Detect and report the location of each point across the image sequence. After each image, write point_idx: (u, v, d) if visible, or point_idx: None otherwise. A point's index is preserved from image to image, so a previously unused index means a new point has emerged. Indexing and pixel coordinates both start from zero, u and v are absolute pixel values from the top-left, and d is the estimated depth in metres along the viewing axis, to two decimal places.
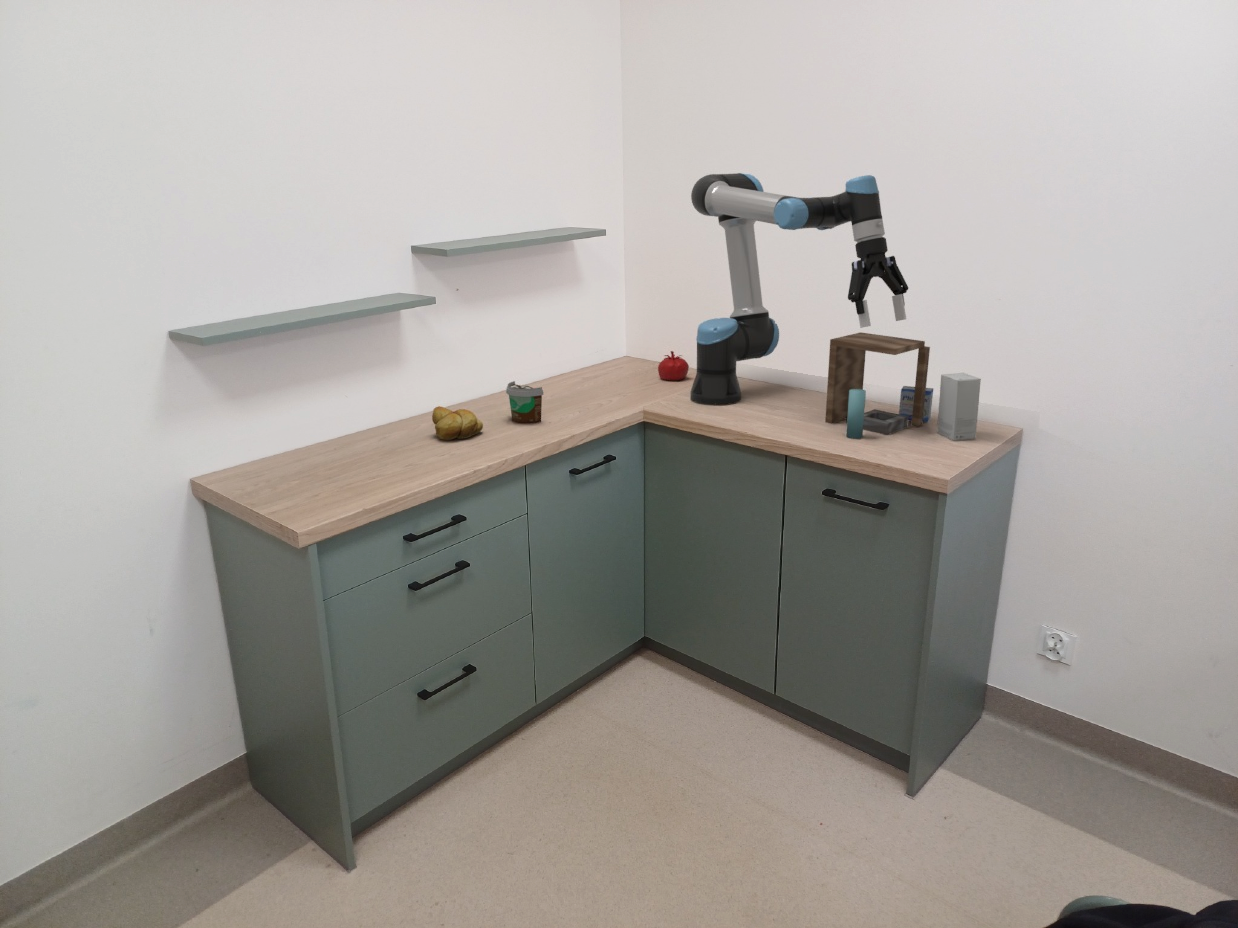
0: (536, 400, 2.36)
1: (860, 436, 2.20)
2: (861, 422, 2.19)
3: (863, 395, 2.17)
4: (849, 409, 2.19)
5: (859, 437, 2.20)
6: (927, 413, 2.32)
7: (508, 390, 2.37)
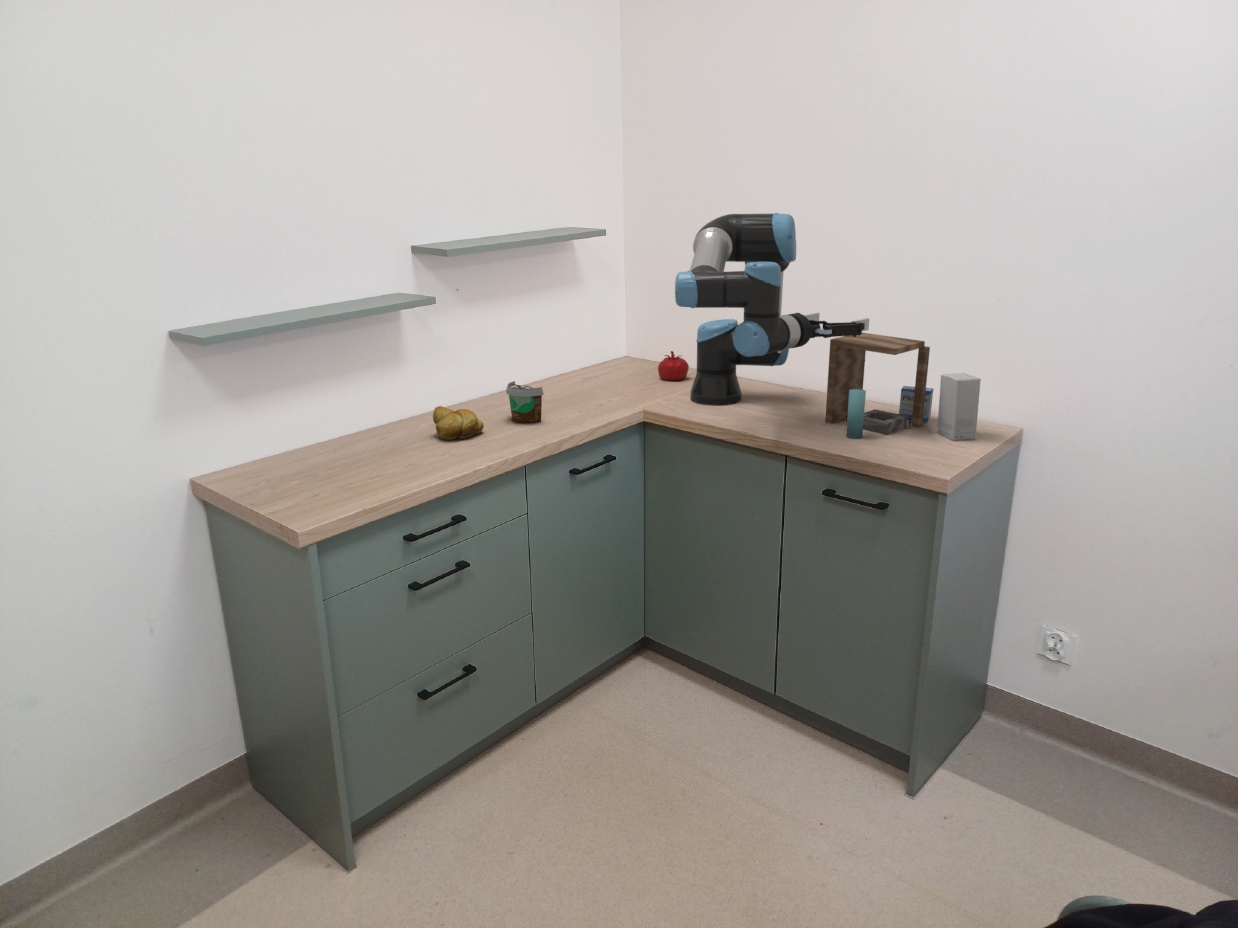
0: (536, 400, 2.36)
1: (860, 436, 2.20)
2: (861, 422, 2.19)
3: (863, 395, 2.17)
4: (849, 409, 2.19)
5: (859, 437, 2.20)
6: (927, 413, 2.32)
7: (508, 390, 2.37)
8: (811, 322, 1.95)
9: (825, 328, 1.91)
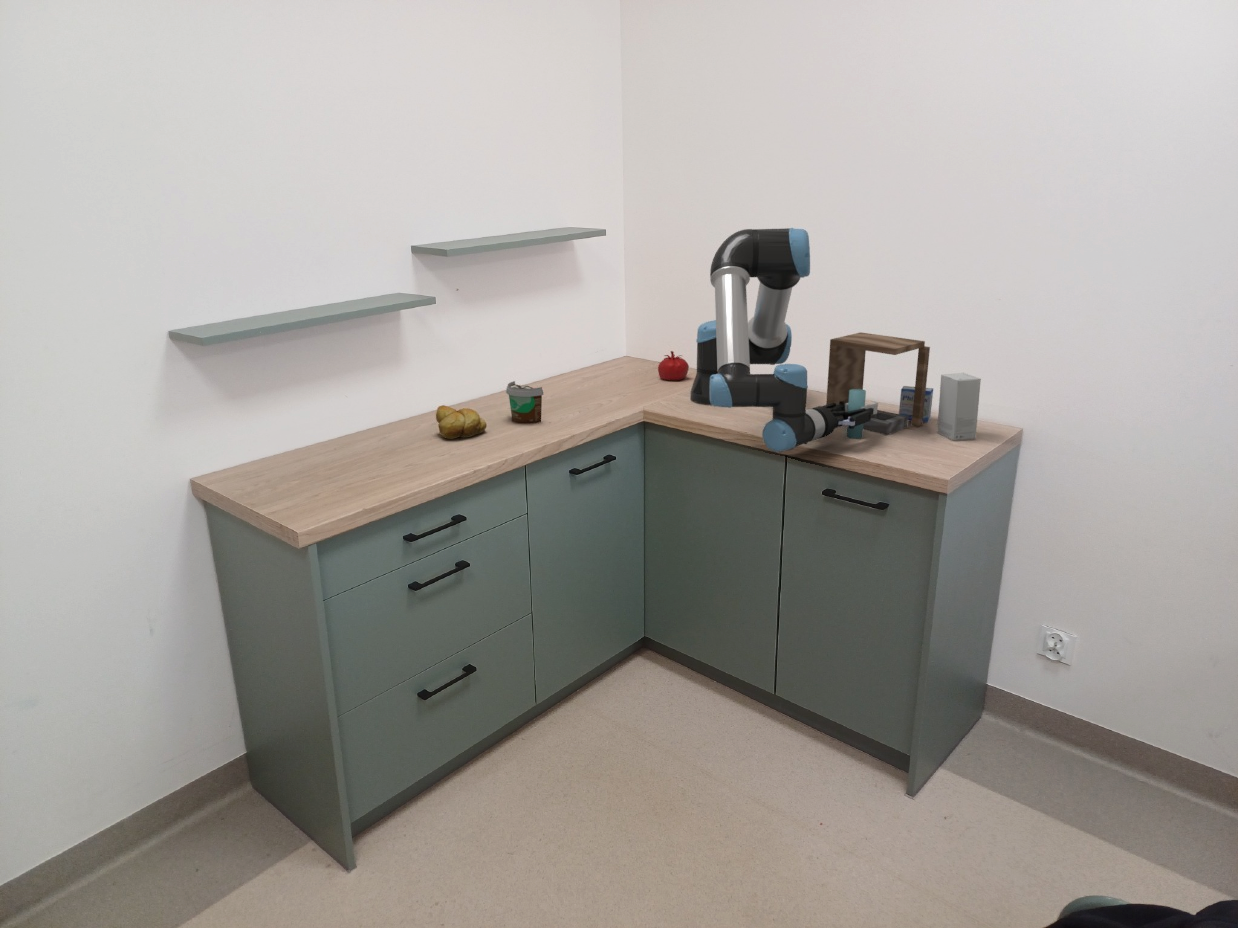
0: (536, 400, 2.36)
1: (860, 436, 2.20)
2: None
3: (863, 395, 2.17)
4: (849, 409, 2.19)
5: (859, 437, 2.20)
6: (927, 413, 2.32)
7: (508, 390, 2.37)
8: (836, 414, 2.10)
9: (852, 420, 2.07)
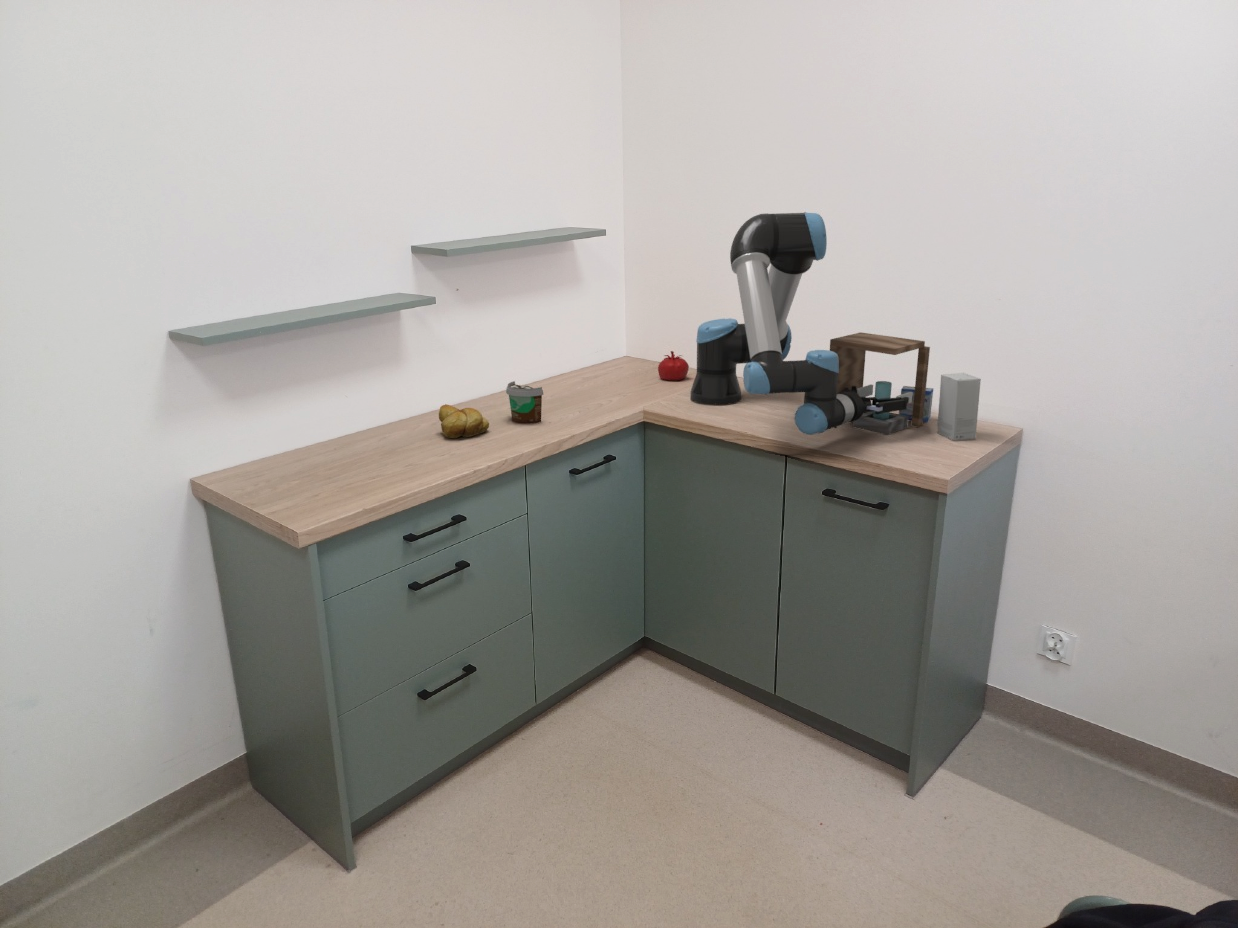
0: (536, 400, 2.36)
1: None
2: (887, 413, 2.26)
3: (889, 387, 2.24)
4: None
5: None
6: (927, 413, 2.32)
7: (508, 390, 2.37)
8: (863, 399, 2.17)
9: (877, 406, 2.14)
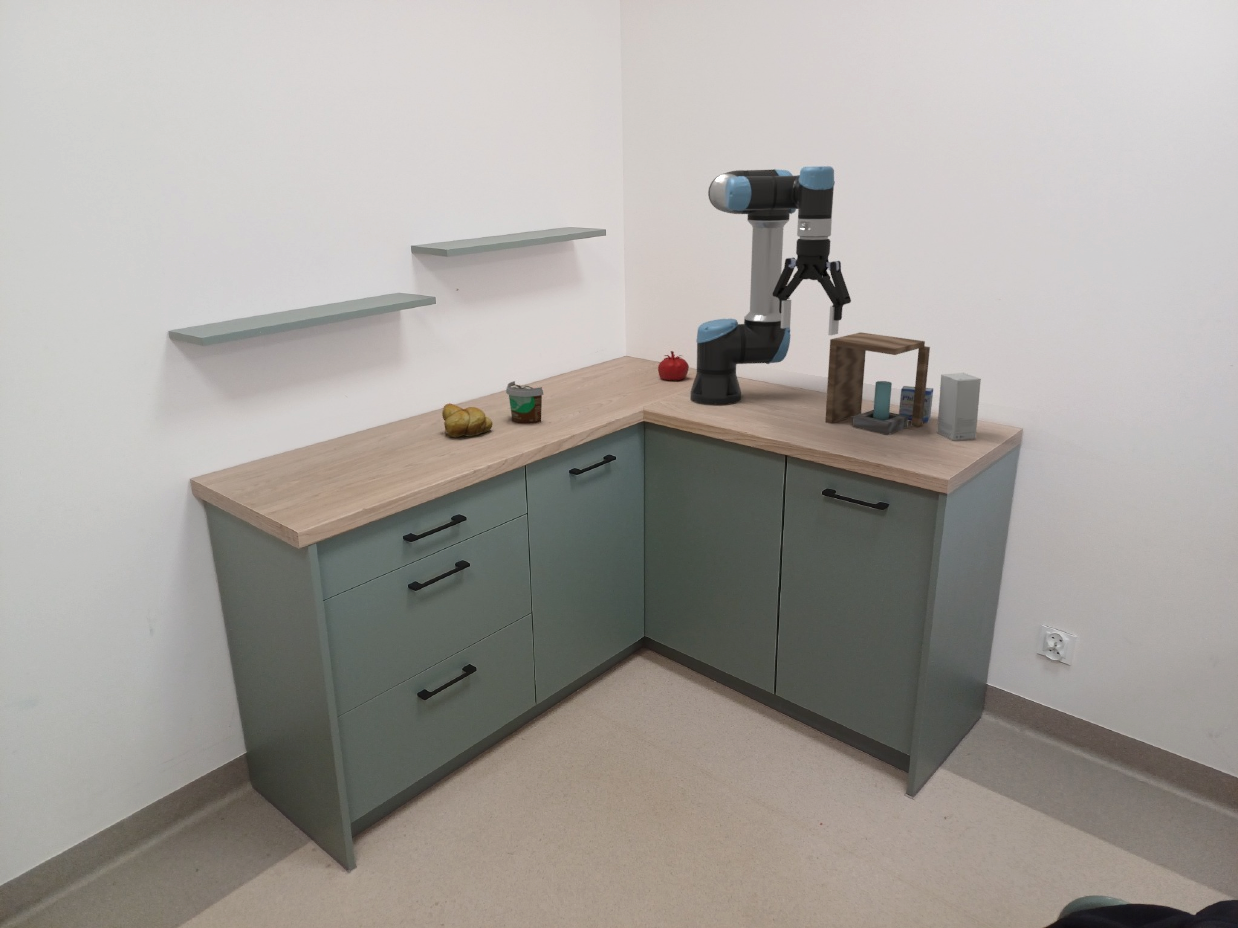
0: (536, 400, 2.36)
1: None
2: (887, 413, 2.26)
3: (889, 387, 2.24)
4: (875, 400, 2.26)
5: None
6: (927, 413, 2.32)
7: (508, 390, 2.37)
8: None
9: (838, 261, 1.95)
